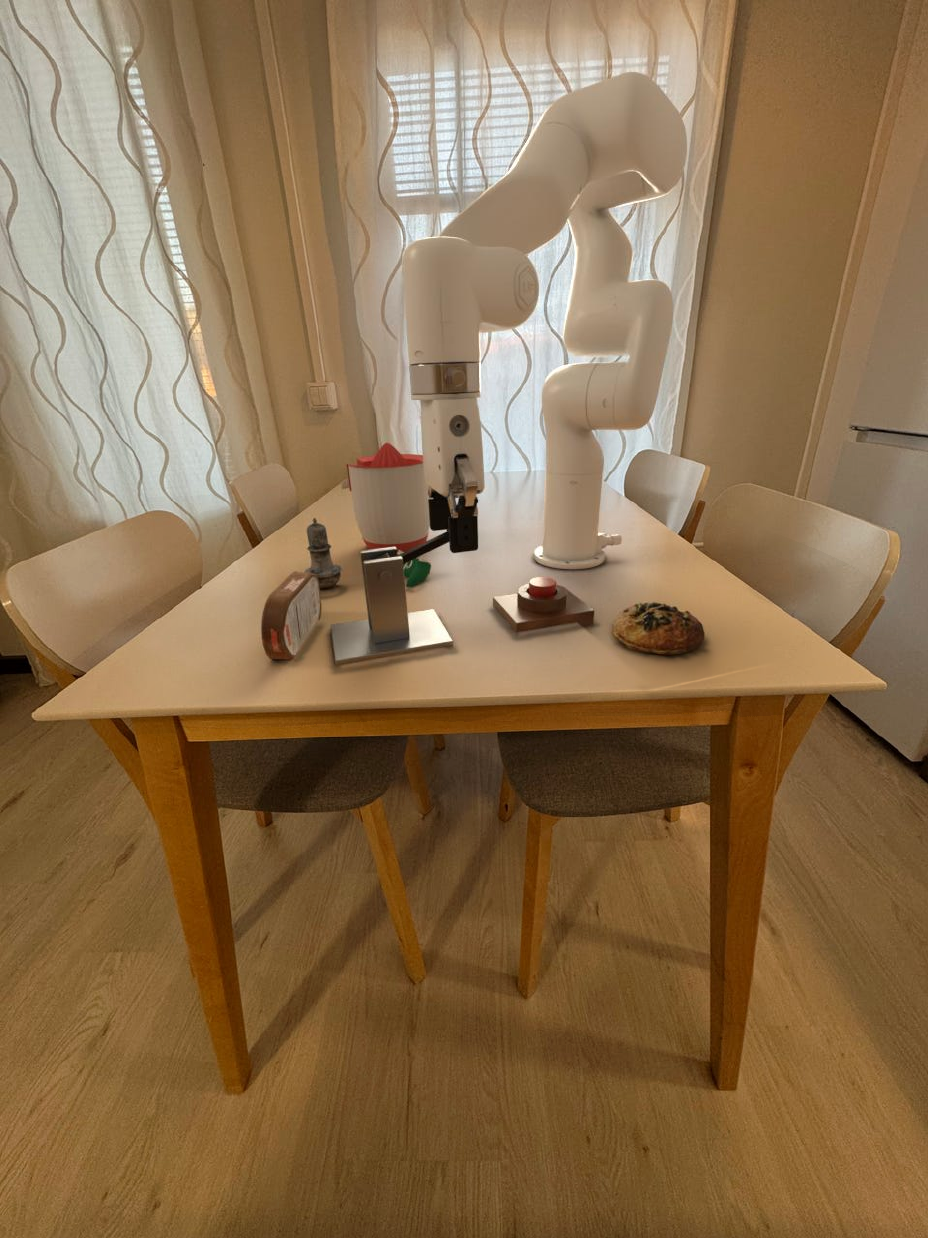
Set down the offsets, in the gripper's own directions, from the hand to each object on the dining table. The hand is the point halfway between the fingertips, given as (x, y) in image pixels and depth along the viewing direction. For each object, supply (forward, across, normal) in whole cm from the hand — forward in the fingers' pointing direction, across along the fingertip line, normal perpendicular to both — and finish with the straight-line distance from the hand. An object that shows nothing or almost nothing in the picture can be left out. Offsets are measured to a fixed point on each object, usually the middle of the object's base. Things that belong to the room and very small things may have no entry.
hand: (452, 539), depth 61 cm
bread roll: (+13, -10, -23) cm, 28 cm away
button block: (+13, 0, -12) cm, 17 cm away
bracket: (+13, 0, +9) cm, 15 cm away
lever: (+2, 0, +4) cm, 5 cm away
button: (+9, 0, -12) cm, 15 cm away
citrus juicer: (+13, +41, +2) cm, 43 cm away
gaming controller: (+13, +21, +3) cm, 25 cm away
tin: (+13, +4, +20) cm, 24 cm away
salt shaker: (+13, +21, +16) cm, 29 cm away
